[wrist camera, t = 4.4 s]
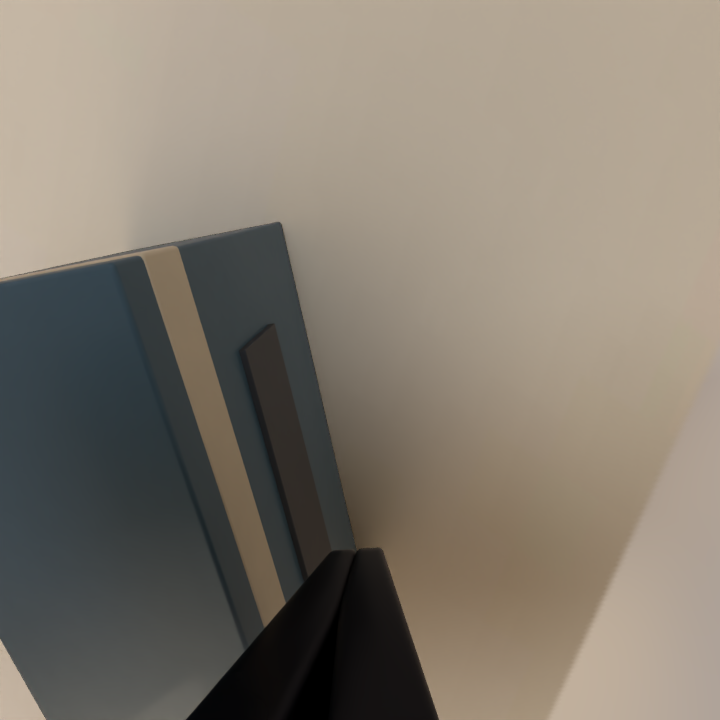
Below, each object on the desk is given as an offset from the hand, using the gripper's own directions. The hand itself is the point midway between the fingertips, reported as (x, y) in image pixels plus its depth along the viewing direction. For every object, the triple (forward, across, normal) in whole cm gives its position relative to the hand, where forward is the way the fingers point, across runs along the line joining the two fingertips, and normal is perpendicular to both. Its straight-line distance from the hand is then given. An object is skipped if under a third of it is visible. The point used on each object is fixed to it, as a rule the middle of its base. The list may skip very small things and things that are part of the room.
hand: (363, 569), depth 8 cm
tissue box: (+3, +4, 0) cm, 5 cm away
